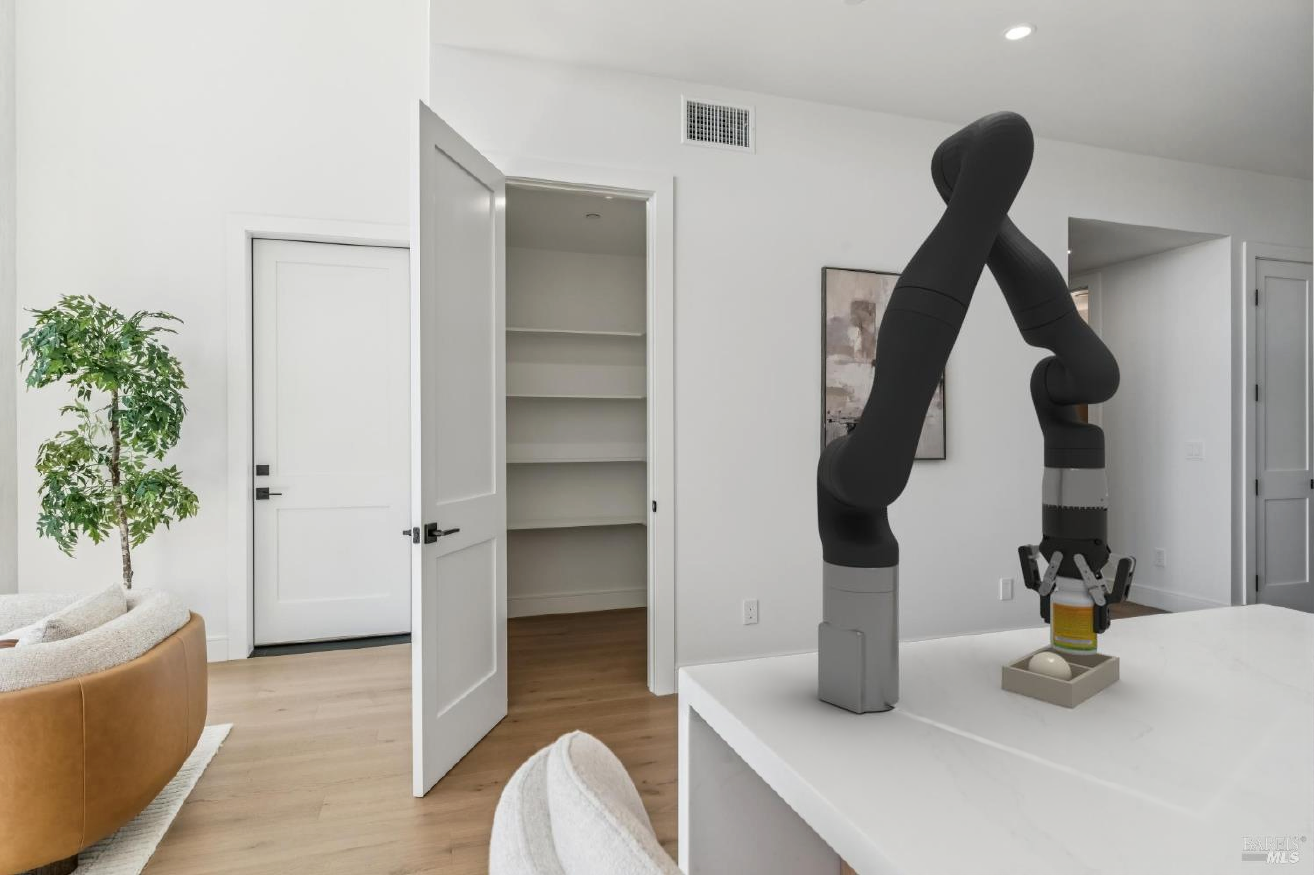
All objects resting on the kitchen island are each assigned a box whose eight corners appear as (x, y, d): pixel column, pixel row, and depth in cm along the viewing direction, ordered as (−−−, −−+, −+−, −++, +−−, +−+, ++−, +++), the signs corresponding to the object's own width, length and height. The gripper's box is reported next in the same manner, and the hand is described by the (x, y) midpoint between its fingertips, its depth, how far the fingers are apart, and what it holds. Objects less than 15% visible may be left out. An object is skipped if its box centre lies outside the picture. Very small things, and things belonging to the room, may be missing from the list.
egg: (1062, 700, 84) (1062, 661, 84) (1021, 689, 88) (1021, 651, 88) (1077, 691, 87) (1077, 653, 87) (1037, 681, 91) (1037, 644, 91)
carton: (1072, 713, 82) (1072, 684, 81) (1001, 693, 88) (1001, 666, 88) (1119, 683, 91) (1119, 657, 91) (1053, 667, 98) (1053, 642, 98)
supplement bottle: (1104, 657, 89) (1104, 582, 89) (1058, 654, 90) (1058, 580, 90) (1087, 644, 94) (1087, 574, 94) (1044, 642, 95) (1044, 572, 95)
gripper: (1006, 499, 95) (1006, 621, 95) (1126, 507, 84) (1126, 645, 84) (1030, 496, 100) (1030, 612, 100) (1146, 503, 89) (1147, 634, 89)
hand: (1074, 627), depth 92 cm, fingers closed on supplement bottle, 5 cm apart
